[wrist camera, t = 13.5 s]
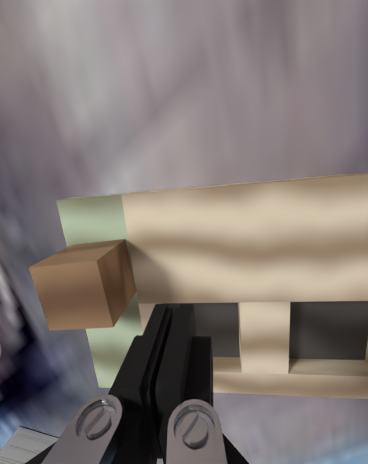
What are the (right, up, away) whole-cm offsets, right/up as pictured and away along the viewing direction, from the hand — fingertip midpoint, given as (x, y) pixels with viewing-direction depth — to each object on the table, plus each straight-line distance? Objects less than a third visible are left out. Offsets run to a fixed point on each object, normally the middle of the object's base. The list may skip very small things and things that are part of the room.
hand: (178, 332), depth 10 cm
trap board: (+7, -2, +16) cm, 18 cm away
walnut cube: (-8, 0, +15) cm, 17 cm away
